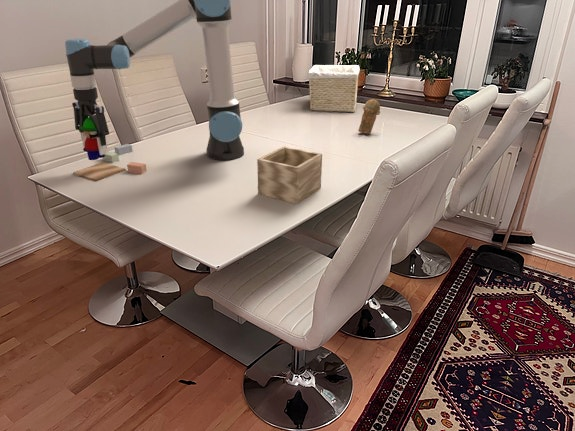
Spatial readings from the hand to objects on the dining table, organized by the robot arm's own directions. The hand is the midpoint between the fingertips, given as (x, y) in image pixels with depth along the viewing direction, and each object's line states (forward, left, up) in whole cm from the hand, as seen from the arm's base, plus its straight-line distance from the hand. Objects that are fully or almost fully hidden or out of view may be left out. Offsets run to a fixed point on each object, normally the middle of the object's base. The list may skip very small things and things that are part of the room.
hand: (95, 151), depth 171 cm
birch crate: (-68, -23, -8) cm, 72 cm away
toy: (-1, 0, -3) cm, 3 cm away
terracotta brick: (-11, -8, -8) cm, 16 cm away
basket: (-25, -139, -8) cm, 141 cm away
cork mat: (0, 0, -8) cm, 8 cm away
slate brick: (+10, -20, -8) cm, 24 cm away
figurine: (-63, -101, -8) cm, 119 cm away
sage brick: (+7, -11, -8) cm, 15 cm away
